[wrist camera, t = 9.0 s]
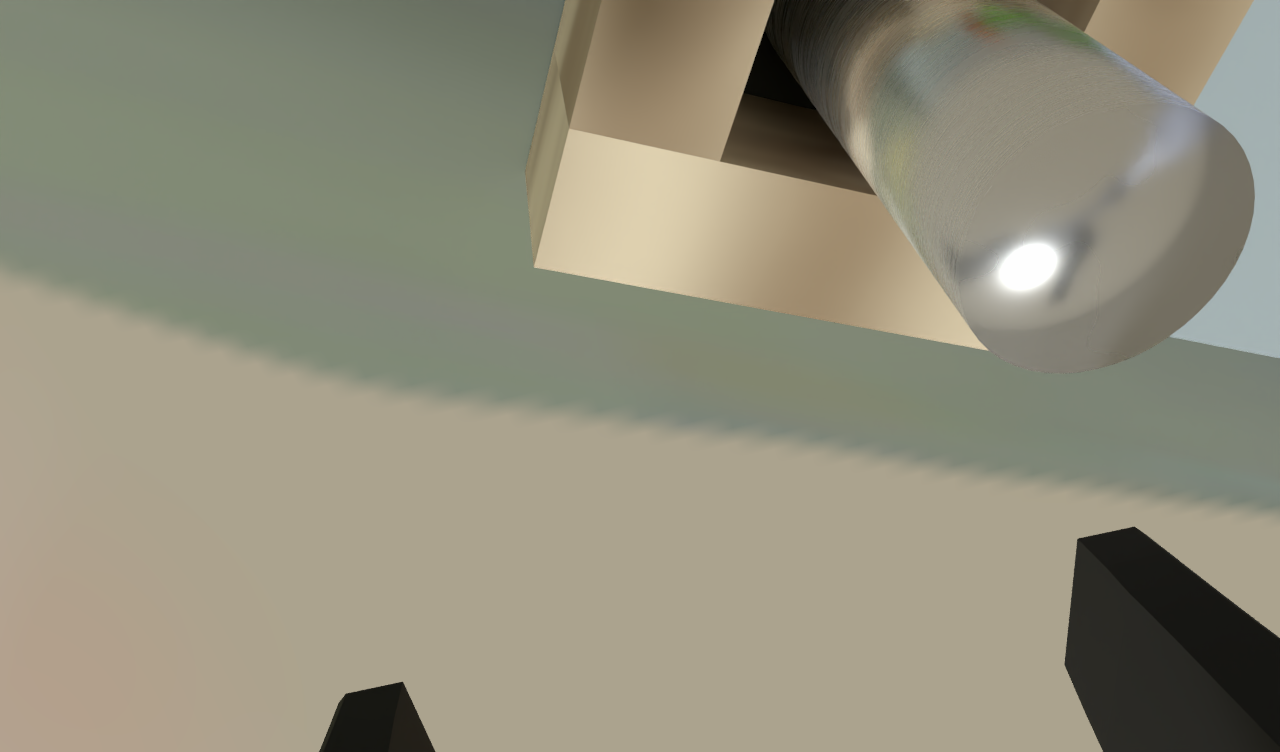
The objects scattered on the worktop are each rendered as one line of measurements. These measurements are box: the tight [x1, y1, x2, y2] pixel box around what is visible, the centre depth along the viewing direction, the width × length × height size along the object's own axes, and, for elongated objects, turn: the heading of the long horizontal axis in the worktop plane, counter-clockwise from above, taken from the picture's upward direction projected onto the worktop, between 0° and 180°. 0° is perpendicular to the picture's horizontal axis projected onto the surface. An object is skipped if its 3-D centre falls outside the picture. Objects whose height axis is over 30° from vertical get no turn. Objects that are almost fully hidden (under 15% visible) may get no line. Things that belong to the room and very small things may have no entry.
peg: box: [765, 0, 1255, 373], centre depth 14 cm, size 3×3×9 cm
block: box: [525, 0, 1254, 351], centre depth 16 cm, size 9×9×4 cm
